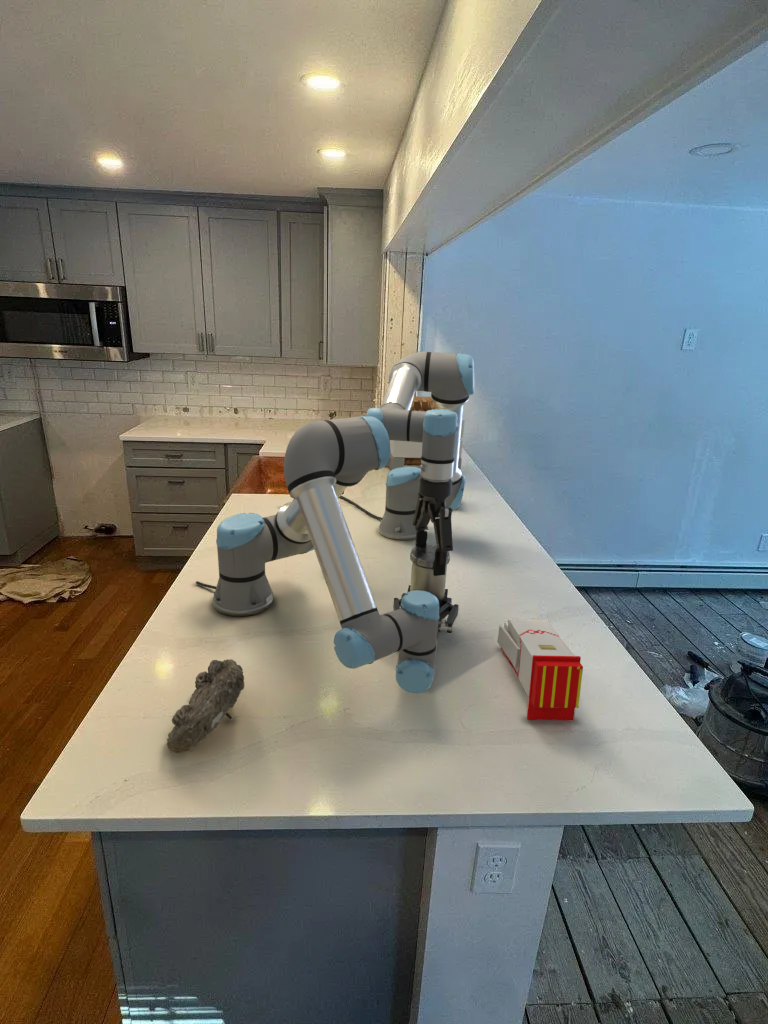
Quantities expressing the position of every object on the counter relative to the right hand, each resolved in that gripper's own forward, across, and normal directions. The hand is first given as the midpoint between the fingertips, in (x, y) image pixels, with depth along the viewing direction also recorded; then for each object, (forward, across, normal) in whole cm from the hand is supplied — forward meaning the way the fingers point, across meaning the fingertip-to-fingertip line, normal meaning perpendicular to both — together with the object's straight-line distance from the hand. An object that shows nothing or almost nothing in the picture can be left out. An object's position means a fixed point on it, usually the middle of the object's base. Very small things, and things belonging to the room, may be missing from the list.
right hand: (429, 564), depth 138 cm
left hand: (+10, -4, +2) cm, 11 cm away
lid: (-3, 0, 0) cm, 3 cm away
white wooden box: (+16, -129, +54) cm, 140 cm away
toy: (+16, +28, +13) cm, 35 cm away
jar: (+16, 0, 0) cm, 16 cm away
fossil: (+16, +20, -53) cm, 59 cm away
